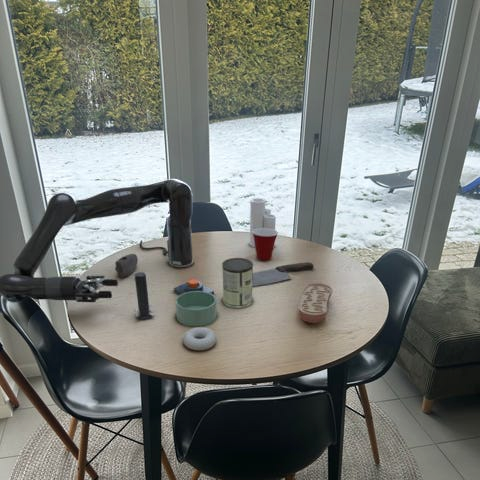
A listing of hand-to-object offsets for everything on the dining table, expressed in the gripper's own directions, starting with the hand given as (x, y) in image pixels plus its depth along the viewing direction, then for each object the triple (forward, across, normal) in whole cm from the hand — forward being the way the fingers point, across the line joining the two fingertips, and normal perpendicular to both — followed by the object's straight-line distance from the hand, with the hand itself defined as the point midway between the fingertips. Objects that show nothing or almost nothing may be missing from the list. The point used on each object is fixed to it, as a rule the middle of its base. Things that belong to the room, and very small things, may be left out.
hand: (114, 288), depth 149 cm
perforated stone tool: (-4, -35, -10) cm, 36 cm away
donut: (+28, +16, -10) cm, 34 cm away
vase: (+50, -64, -10) cm, 82 cm away
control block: (+23, -16, -10) cm, 30 cm away
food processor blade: (+8, 0, -10) cm, 13 cm away
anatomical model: (+64, -4, -10) cm, 65 cm away
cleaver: (+56, -32, -10) cm, 65 cm away
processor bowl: (+26, 0, -10) cm, 27 cm away
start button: (+23, -16, -7) cm, 29 cm away
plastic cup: (+50, -49, -10) cm, 71 cm away
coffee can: (+39, -11, -10) cm, 42 cm away
